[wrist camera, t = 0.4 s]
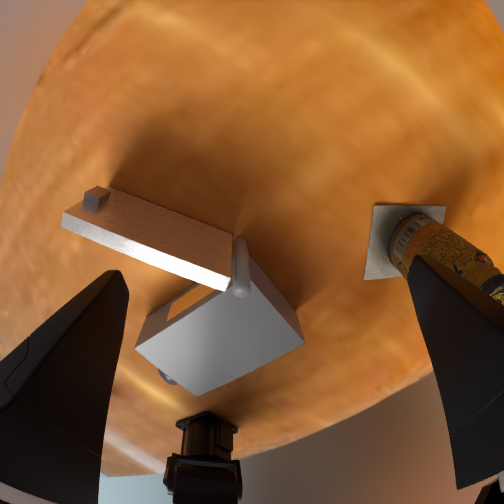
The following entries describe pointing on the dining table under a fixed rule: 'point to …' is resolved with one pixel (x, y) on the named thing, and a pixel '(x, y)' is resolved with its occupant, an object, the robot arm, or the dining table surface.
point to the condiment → (425, 247)
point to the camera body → (221, 329)
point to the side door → (153, 235)
